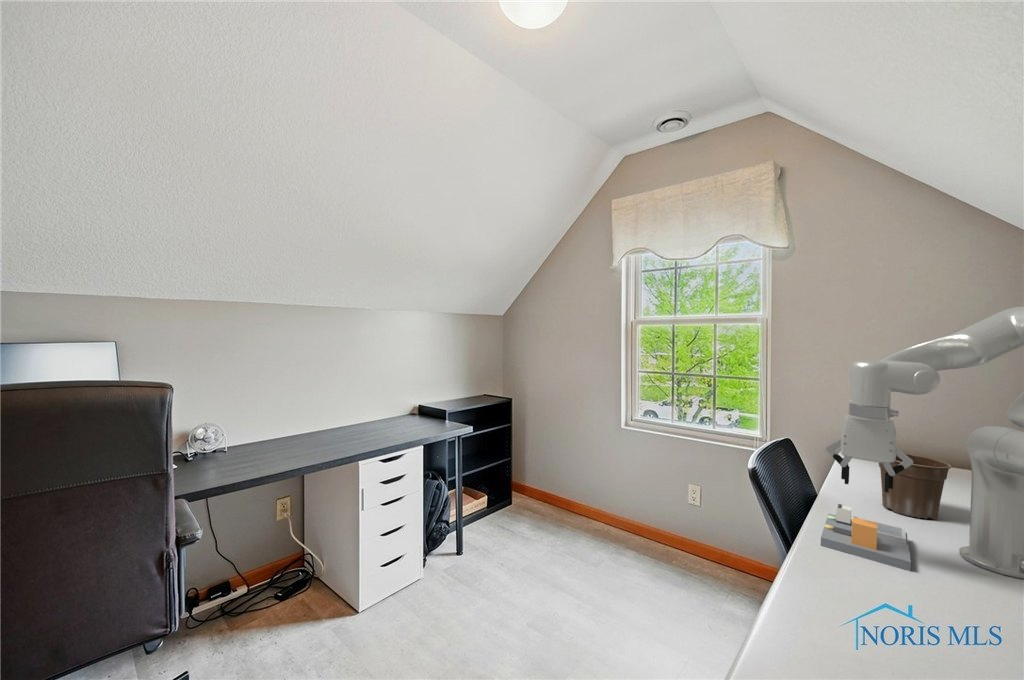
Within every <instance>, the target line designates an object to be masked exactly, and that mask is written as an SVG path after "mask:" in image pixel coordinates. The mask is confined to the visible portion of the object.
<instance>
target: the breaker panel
mask: <svg viewBox="0 0 1024 680" xmlns="http://www.w3.org/2000/svg"><path fill="white" fill-rule="evenodd" d="M863 519H864V520H868V521H872V522H877V547H876V550H874V549H870V548H867V547H863V546H859V545H856V544H852V543H851V542H852V535H851V531H852V518H851V523H850V524H849V523H845V522H841V521H837V520H836V514H832V513H828V514H827V518H826V520H825V523H824V527H823V528H822V529H823V530H822V532H821V535H820V546H821V547H825V548H828V549H832V550H836V551H839V552H843V553H845V554H849V555H853V556H856V557H860V558H863V559H867V560H871V561H874V562H878V563H881V564H883V565H888V566H892V567H895V568H898V569H901V570H905V571H908V572H911V570H912V567H911V565H912V561H911V553H910V547H909V539H908V534H907V532H906V528H904V527H900V526H895V525H892V524H887V523H883V522H879V521H875V520H871V519H866V518H863Z"/></svg>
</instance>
